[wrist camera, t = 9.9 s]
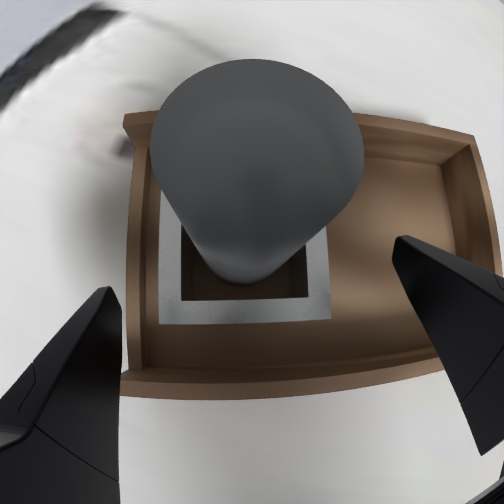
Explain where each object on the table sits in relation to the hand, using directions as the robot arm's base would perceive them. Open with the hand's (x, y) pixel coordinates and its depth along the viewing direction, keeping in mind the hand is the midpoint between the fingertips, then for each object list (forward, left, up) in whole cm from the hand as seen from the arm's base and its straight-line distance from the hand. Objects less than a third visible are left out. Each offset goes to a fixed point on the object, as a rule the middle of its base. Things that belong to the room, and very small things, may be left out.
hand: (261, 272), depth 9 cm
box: (+4, -2, -9) cm, 11 cm away
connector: (+1, +1, -9) cm, 9 cm away
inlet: (+1, +2, -9) cm, 9 cm away
